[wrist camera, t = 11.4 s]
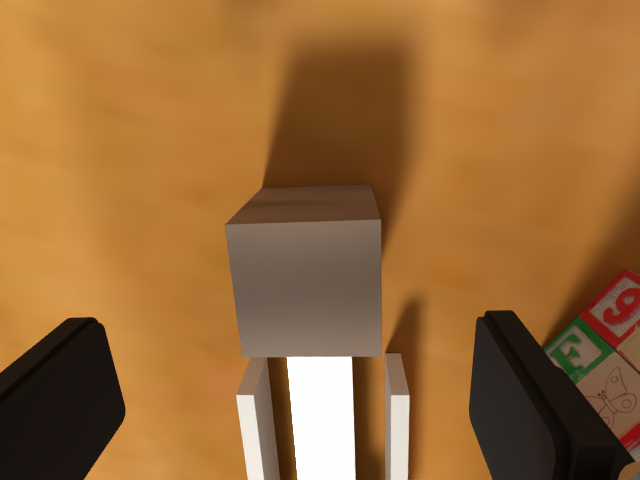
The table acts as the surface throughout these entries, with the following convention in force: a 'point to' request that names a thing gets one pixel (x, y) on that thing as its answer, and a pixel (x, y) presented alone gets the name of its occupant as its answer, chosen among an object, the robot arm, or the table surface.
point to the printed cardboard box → (607, 357)
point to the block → (308, 272)
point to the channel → (262, 431)
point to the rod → (323, 417)
